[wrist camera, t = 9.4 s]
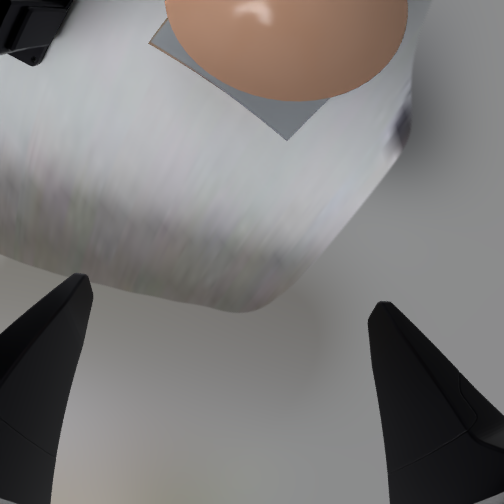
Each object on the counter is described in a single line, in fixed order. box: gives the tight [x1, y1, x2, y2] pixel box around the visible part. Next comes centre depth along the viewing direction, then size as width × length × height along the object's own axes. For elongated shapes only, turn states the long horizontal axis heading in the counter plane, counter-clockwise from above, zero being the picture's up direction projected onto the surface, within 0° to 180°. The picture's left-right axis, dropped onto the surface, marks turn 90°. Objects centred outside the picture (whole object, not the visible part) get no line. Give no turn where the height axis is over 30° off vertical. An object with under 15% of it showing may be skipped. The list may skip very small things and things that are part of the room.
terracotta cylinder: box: [165, 0, 408, 102], centre depth 6 cm, size 5×5×5 cm
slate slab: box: [151, 19, 330, 141], centre depth 10 cm, size 6×6×4 cm
